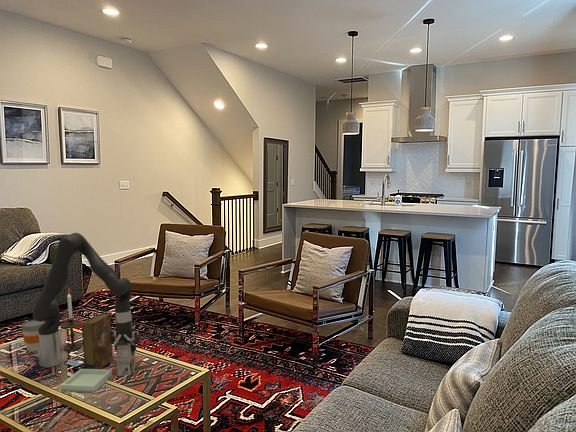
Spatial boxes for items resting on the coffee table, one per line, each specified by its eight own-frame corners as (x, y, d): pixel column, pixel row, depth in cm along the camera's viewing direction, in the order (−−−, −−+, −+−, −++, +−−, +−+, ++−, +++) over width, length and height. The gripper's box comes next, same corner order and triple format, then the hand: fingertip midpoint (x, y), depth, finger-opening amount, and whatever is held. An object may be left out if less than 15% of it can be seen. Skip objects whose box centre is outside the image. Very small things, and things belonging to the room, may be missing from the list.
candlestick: (73, 343, 251) (68, 284, 247) (87, 345, 248) (83, 285, 244) (57, 350, 241) (52, 289, 237) (72, 353, 237) (68, 291, 234)
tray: (60, 391, 196) (60, 384, 196) (81, 374, 212) (81, 368, 211) (93, 392, 194) (93, 386, 194) (112, 375, 210) (111, 369, 210)
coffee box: (122, 367, 219) (121, 337, 217) (135, 366, 219) (134, 336, 217) (117, 376, 210) (115, 344, 208) (131, 375, 210) (129, 343, 208)
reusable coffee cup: (37, 342, 253) (35, 318, 251) (54, 345, 249) (52, 320, 247) (18, 351, 241) (15, 325, 239) (35, 354, 237) (33, 327, 235)
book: (105, 358, 230) (102, 313, 227) (114, 359, 229) (111, 313, 226) (84, 372, 214) (81, 324, 211) (94, 373, 213) (91, 324, 210)
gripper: (105, 322, 208) (108, 354, 210) (133, 322, 207) (135, 355, 208) (113, 316, 216) (116, 348, 218) (140, 317, 214) (142, 348, 216)
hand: (125, 351), depth 213 cm, fingers open, 8 cm apart
